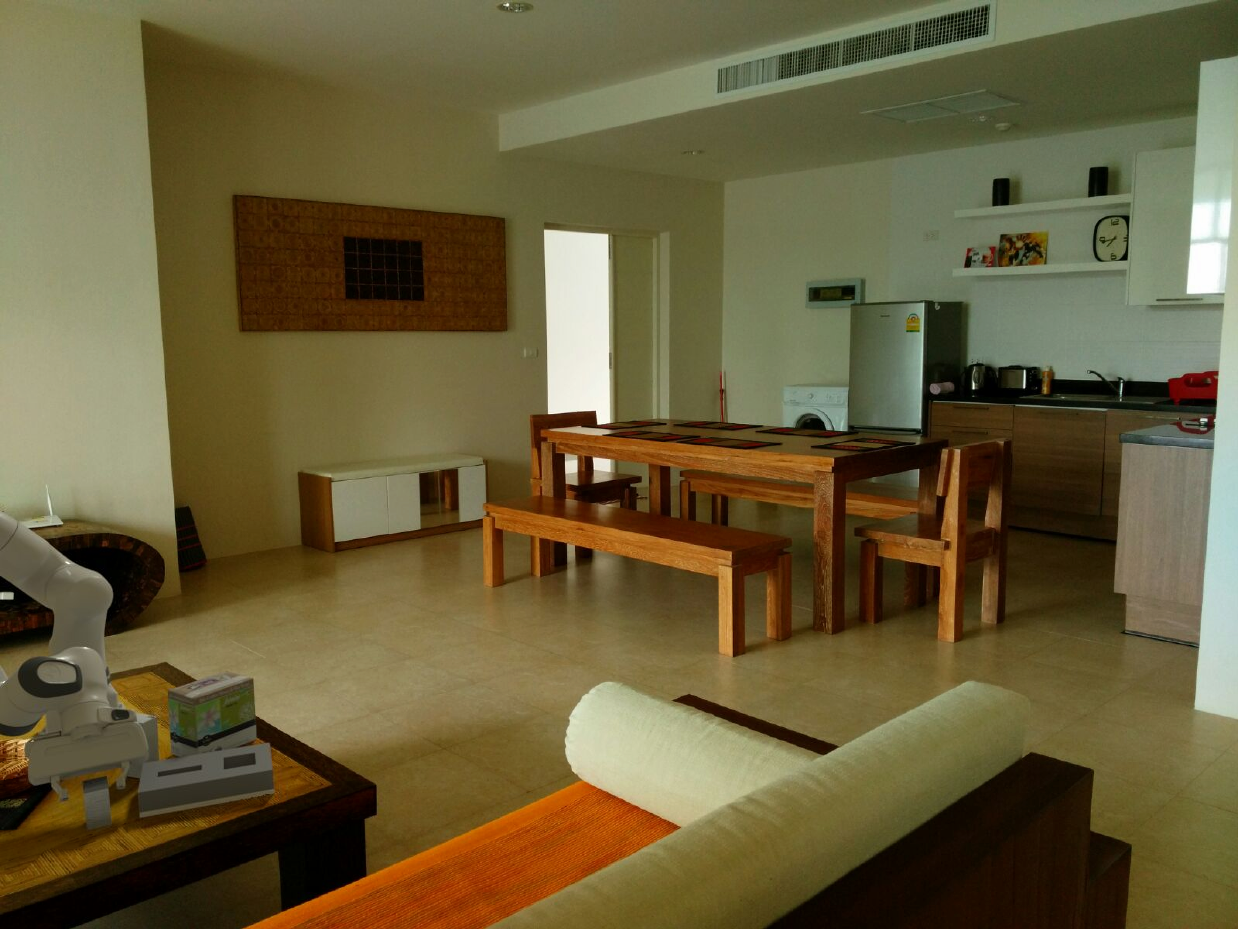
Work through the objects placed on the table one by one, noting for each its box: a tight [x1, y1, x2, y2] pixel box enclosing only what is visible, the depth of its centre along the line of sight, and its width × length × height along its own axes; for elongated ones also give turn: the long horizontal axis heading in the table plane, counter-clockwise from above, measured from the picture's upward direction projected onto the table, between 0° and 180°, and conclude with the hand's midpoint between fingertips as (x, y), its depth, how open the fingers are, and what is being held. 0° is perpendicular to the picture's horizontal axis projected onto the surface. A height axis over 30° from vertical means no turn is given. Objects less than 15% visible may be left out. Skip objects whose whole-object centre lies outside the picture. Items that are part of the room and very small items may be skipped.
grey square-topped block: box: [81, 775, 113, 831], centre depth 183 cm, size 4×4×8 cm
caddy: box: [137, 742, 275, 819], centre depth 196 cm, size 14×24×5 cm, turn 112°
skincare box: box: [127, 712, 160, 779], centre depth 203 cm, size 6×4×12 cm
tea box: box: [167, 670, 257, 757], centre depth 216 cm, size 15×10×15 cm
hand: (93, 794), depth 183 cm, fingers open, 8 cm apart
